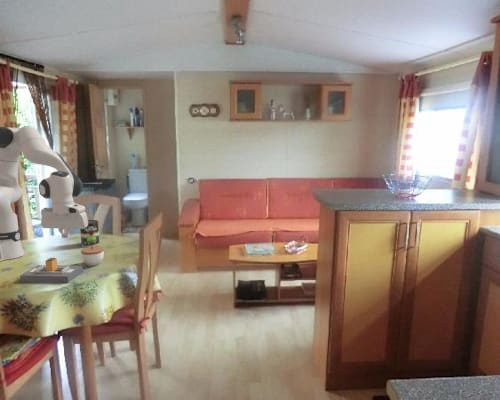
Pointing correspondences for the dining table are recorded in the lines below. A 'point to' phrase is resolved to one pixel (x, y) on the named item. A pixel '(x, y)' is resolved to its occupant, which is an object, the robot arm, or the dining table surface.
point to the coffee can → (90, 234)
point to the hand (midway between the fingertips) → (65, 237)
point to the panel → (51, 274)
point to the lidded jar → (92, 255)
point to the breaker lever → (51, 264)
